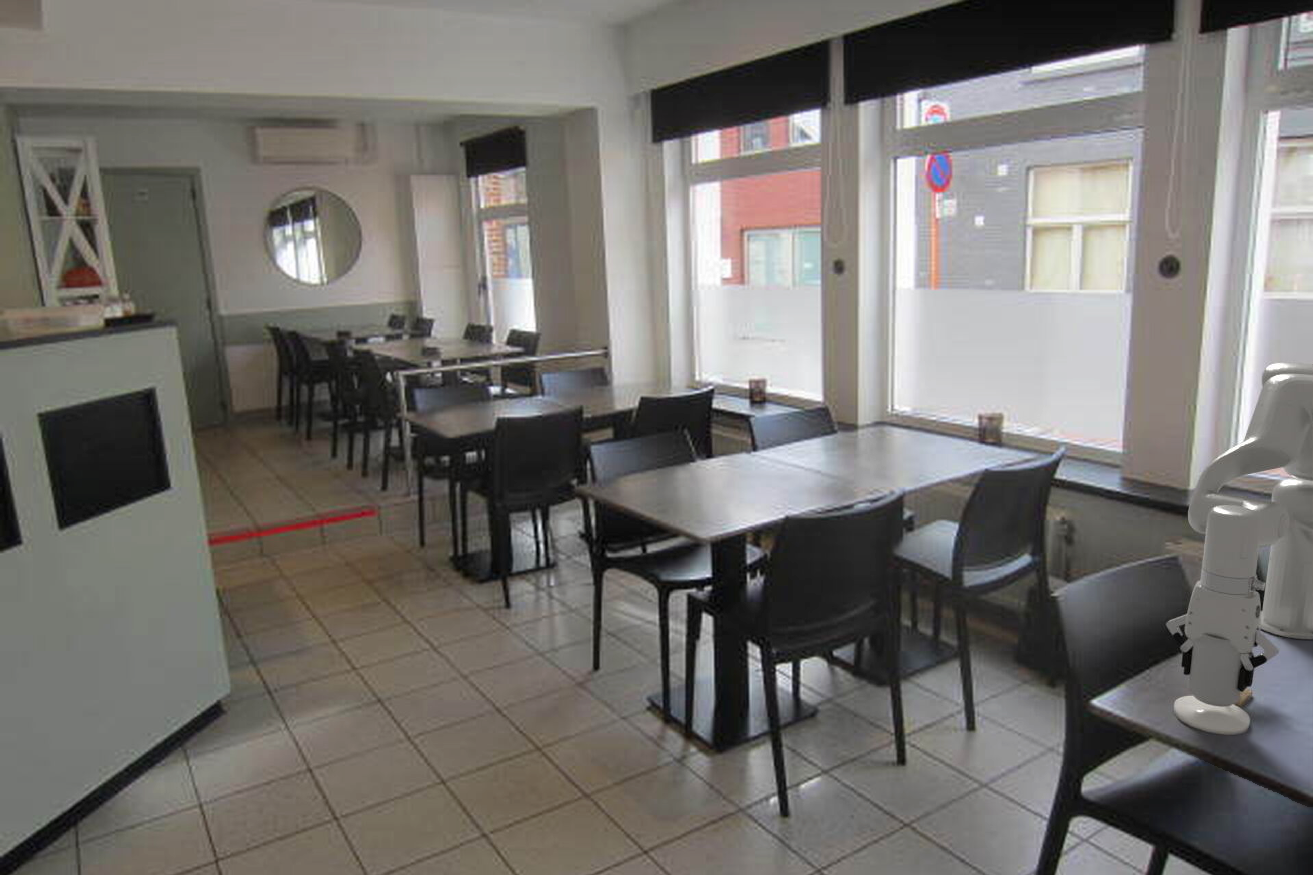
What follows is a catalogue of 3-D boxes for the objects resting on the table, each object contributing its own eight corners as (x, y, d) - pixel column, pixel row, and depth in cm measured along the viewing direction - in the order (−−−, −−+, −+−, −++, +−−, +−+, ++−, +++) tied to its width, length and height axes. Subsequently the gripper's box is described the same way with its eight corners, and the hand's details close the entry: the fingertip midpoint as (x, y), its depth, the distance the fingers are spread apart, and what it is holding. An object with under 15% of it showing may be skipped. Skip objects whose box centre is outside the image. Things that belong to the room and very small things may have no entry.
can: (1246, 710, 151) (1255, 642, 148) (1196, 707, 152) (1204, 639, 150) (1228, 689, 158) (1236, 624, 156) (1181, 685, 160) (1188, 621, 157)
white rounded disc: (1186, 695, 164) (1187, 689, 163) (1257, 717, 156) (1258, 711, 156) (1163, 717, 156) (1164, 711, 156) (1237, 742, 148) (1238, 735, 148)
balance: (1226, 676, 170) (1234, 607, 168) (1263, 687, 166) (1272, 616, 163) (1201, 701, 162) (1209, 629, 159) (1239, 713, 157) (1249, 639, 154)
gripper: (1296, 588, 147) (1282, 690, 151) (1177, 562, 160) (1167, 657, 163) (1282, 601, 142) (1268, 706, 146) (1161, 573, 155) (1151, 670, 158)
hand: (1215, 679), depth 155 cm, fingers closed on can, 7 cm apart
